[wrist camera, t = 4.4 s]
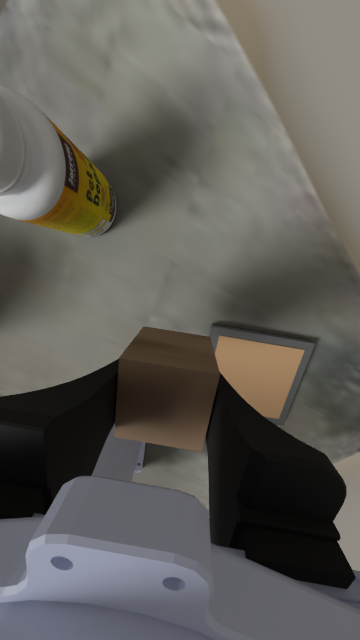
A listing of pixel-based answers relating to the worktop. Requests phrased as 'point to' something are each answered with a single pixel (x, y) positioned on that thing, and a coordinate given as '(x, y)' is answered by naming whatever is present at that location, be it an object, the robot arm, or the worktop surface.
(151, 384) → the cube
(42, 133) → the supplement bottle
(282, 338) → the coaster
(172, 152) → the worktop surface
